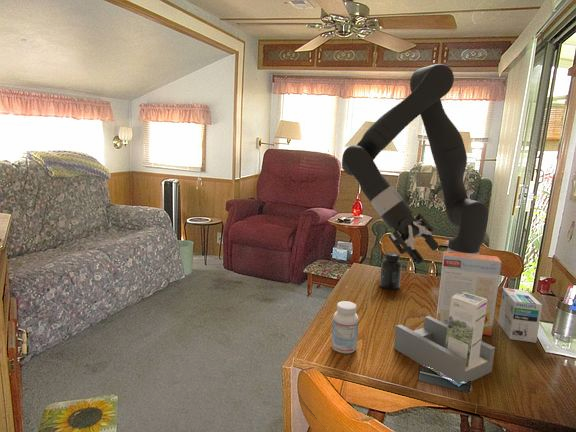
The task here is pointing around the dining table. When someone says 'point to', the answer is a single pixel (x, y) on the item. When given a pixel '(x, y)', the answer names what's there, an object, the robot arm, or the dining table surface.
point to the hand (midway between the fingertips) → (428, 255)
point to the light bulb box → (520, 315)
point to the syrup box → (466, 326)
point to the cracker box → (469, 282)
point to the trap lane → (441, 351)
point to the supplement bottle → (391, 271)
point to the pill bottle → (345, 328)
